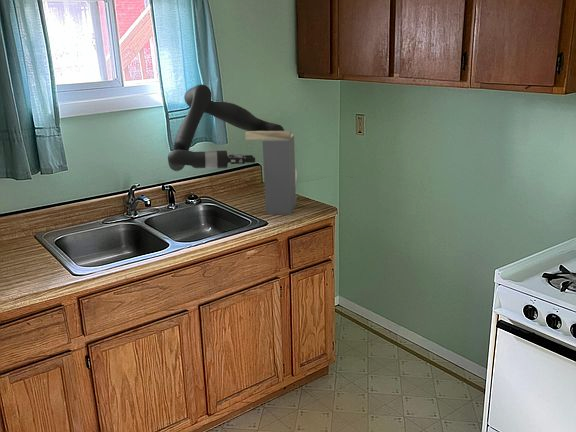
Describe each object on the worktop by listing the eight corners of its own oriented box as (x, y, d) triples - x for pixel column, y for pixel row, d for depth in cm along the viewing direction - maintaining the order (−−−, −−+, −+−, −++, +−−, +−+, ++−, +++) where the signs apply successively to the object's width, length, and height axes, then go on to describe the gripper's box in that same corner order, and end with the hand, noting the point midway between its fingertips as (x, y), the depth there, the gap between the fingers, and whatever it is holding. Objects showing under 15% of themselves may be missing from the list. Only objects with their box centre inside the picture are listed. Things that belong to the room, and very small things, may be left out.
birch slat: (247, 137, 254) (247, 131, 253) (291, 137, 251) (291, 130, 250) (245, 139, 250) (245, 132, 249) (289, 139, 247) (289, 132, 246)
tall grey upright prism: (272, 204, 269) (269, 134, 259) (296, 205, 267) (293, 134, 257) (265, 214, 256) (262, 140, 246) (290, 214, 254) (288, 140, 244)
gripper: (216, 152, 243) (255, 151, 245) (215, 149, 257) (252, 148, 259) (217, 170, 244) (256, 169, 247) (215, 166, 258) (252, 165, 261)
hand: (254, 158), depth 253 cm, fingers open, 8 cm apart
